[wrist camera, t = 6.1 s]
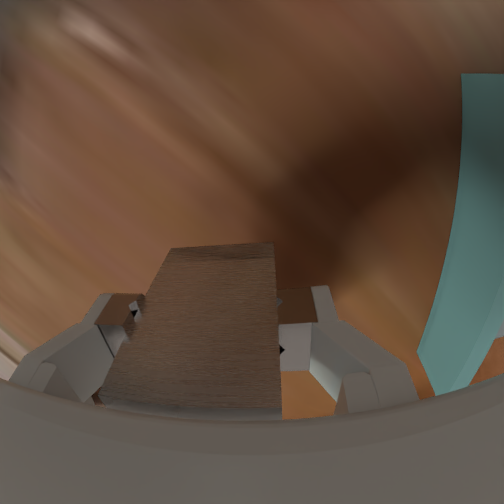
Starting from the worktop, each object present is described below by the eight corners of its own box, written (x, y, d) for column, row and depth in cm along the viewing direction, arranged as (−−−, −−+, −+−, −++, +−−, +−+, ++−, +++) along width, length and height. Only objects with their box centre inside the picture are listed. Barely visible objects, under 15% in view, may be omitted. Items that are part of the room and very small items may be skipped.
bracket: (171, 248, 12) (97, 395, 5) (273, 242, 11) (281, 407, 5) (198, 353, 14) (172, 481, 8) (278, 352, 14) (282, 487, 8)
